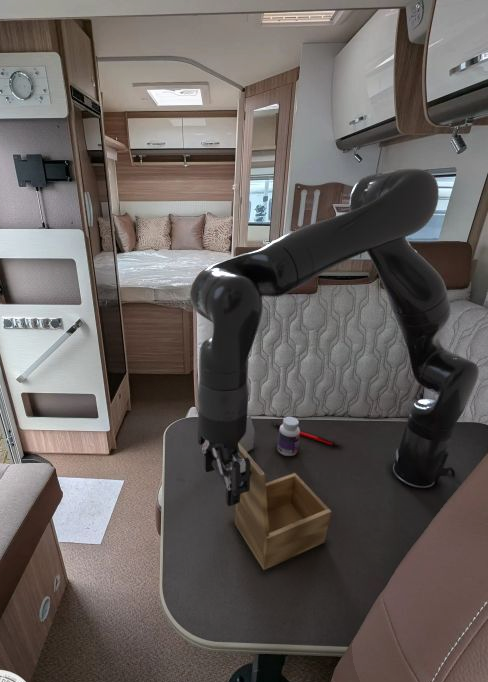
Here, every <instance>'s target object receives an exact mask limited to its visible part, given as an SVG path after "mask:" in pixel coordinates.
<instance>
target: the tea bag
mask: <svg viewBox="0 0 488 682" xmlns="http://www.w3.org/2000/svg"><path fill="white" fill-rule="evenodd" d="M254 442H255V428H254V424H253V420H252V416H251V415H250V414H249V415H247V427H246V433H245V435H244V436H243V437H242V439H241V440H240V441H239V444H240V445H241V446H242V447H243V448H244V450H245V451H246V452H247V453H248V452H250V451H251V450H253V449H254V444H255V443H254Z"/></svg>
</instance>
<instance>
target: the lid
mask: <svg viewBox="0 0 488 682" xmlns="http://www.w3.org/2000/svg"><path fill="white" fill-rule="evenodd" d="M238 447H239V455H240V456H241V458H242V459H243V458H246V457H248V458H249V460H250V490H249V491H247V492H244V493H242V494H240V501H241V503H242V504H243V505H244V507H245V508H246V510H247V511H248V513H249V514H250V516H251V517H252V519H253V520H254V521H255V523H256V524H257V526H258V527H259V529H260V530H261V532H262V533H263V535H264V536H265V537H268V536H269V525H268V511H267V497H266V483H267V482H266V473H265V472H264V471H263V470H262V468H261V467H260V466H259V465H258V464H257V462H255V460H254V459H253V458H252V456H250V454H249V453H248V452H246V451H245V450H244V448H243V447H242V446H241V445H240V444H239V443H238ZM212 466H213V468H214V469H215V470H214V471H215V472H216V474H217V475H218V477H219V479H220V480H221V481H222V483H223V484H224V486H225V487H226V482H225V478H224V476H222V475H221V474H220V471H219V467H218V463H217V459H216V458H215V459H214V460H213V461H212ZM231 466H232V463H230V467H231ZM224 468H225V469H229V467H228V466H227V465H224ZM230 480H231V481H232V474H230Z"/></svg>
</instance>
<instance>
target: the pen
mask: <svg viewBox="0 0 488 682" xmlns="http://www.w3.org/2000/svg"><path fill="white" fill-rule="evenodd" d="M281 425H282V424H277V423H274V426H276V427H277V428H279V429H280V426H281ZM300 436H303V437H306V438H309V439H311V440H315V441H317V442H319V443H320V442H321V443H323V444H327V445H329V446H332V447H334V446H335V447H339V444H336V443H335V441H332V440H328V439H326V438H323V437H319V436H315V435H312V434H309V433H305V432H303V431H300Z"/></svg>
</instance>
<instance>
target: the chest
mask: <svg viewBox="0 0 488 682" xmlns="http://www.w3.org/2000/svg"><path fill="white" fill-rule="evenodd" d="M265 483H266V497H267V511H268V525H269V536H268V537H265V536H264V535H263V533H262V532H261V530H260V529H259V527H258V526H257V524H256V523H255V521H254V520H253V519H252V517H251V516H250V514H249V513H248V511H247V510H246V508H245V507H244V505H243V504H242V503H241V501H240V502H239V503H237V504H235V511H234V512H235V514H234V515H235V516H234V525H235V527H236V528H237V530H238V531H239V533H240V535H241V537H242V538H243V539H244V542H245V543H246V544H247V546H248V548H249V549H250V551H251V552H252V554H253V556H254V557H255V559H256V560H257V562H258V564H259V566H260V567H261V569H262V571H265V570H267V569H269V568H272V567H275V566H276V565H279V564H280V563H283V562H285V561H287V560H289V559H291V558H294V557H296V556H298V555H300V554H302V553H305V552H307V551H309V550H311V549H313V548H315V547H318V546H320V545H322V544H325V542H326V538H327V534H328V530H329V529H328V528H329V524H330V520H331V515H332V510H331V509H330V508H329V507H328V506H327V505H326V504H325V503H324V502H323V501H322V500H321V499H320V498H319V497H318V495H317V494H316V493H315V492H314V491H313V490H312V489H311V488H310V487H309V486H308V484H306V483H305V482H304V481H303V479H301V478H300V476H299V475H298V474H297V473H296V472H293V473H291V474H287V475H285V476H282V477H280V478H276V479H274V480H270V481H268V482H265Z"/></svg>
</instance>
